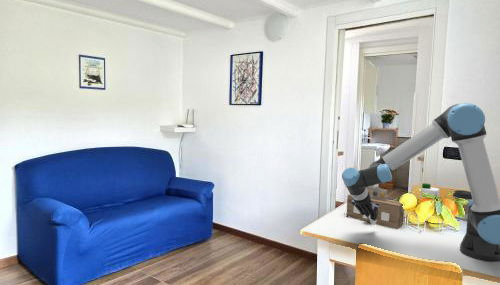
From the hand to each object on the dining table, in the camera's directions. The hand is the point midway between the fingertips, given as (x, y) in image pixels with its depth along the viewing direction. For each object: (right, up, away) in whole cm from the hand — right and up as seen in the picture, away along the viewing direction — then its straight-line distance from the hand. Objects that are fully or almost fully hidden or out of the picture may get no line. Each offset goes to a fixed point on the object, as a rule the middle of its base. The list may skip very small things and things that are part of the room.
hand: (374, 222), depth 171 cm
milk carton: (+37, -4, +21) cm, 42 cm away
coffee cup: (+59, -4, +27) cm, 65 cm away
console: (+6, -3, +18) cm, 19 cm away
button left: (0, +1, +23) cm, 23 cm away
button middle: (+2, 0, +14) cm, 14 cm away
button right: (+11, -1, +11) cm, 15 cm away
